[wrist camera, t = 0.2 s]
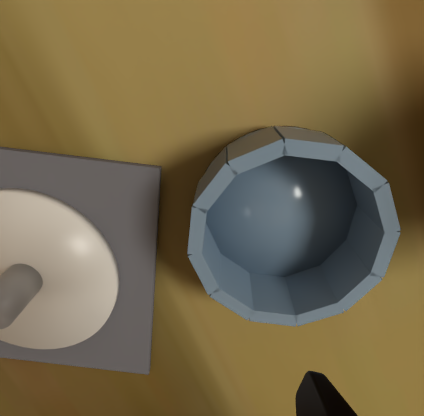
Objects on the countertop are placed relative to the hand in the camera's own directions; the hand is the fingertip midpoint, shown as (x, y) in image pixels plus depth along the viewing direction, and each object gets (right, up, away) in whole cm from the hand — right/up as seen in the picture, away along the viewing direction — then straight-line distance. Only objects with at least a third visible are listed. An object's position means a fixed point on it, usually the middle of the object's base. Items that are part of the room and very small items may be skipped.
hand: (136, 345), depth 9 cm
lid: (-11, -1, +16) cm, 20 cm away
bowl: (+6, +4, +14) cm, 16 cm away
